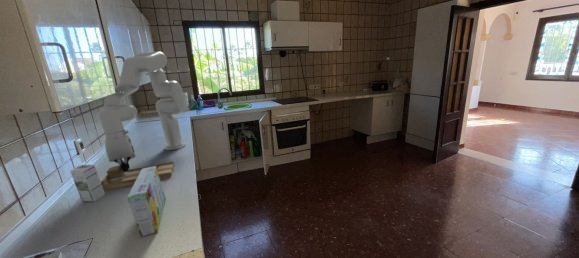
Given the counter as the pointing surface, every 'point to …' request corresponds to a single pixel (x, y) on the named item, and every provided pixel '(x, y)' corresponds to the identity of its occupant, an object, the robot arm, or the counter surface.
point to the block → (115, 172)
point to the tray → (132, 174)
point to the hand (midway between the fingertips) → (126, 170)
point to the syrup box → (87, 183)
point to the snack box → (147, 201)
